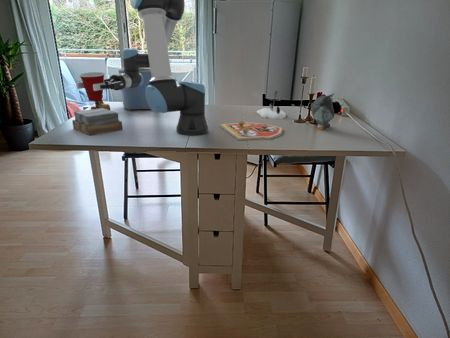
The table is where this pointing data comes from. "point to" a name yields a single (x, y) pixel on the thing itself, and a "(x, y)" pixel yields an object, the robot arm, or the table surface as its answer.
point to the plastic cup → (88, 83)
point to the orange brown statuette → (100, 105)
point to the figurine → (272, 110)
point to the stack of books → (96, 121)
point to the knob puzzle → (251, 130)
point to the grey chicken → (322, 111)
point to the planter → (136, 92)
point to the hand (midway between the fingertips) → (85, 86)
